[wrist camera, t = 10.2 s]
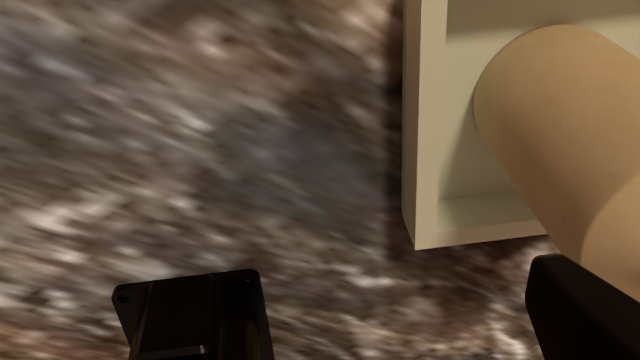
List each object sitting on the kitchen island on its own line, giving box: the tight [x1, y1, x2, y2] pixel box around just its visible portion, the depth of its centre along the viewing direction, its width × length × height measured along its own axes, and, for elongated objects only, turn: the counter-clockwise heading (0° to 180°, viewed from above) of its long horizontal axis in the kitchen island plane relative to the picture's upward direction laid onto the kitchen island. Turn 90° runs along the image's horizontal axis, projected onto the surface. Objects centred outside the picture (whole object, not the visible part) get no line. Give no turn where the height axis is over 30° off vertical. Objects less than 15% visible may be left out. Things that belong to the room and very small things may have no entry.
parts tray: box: [401, 0, 640, 250], centre depth 21 cm, size 11×11×2 cm
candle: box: [473, 23, 640, 302], centre depth 17 cm, size 6×6×10 cm
